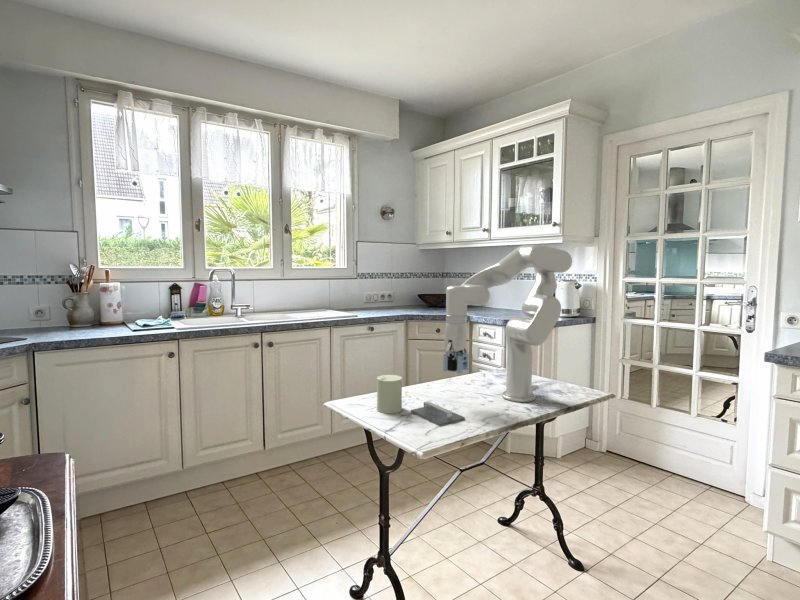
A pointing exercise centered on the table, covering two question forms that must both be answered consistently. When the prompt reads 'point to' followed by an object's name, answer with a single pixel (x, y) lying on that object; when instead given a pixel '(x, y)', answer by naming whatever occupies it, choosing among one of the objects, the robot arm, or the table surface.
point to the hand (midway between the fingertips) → (456, 368)
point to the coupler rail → (436, 418)
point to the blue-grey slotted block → (458, 362)
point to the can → (389, 393)
